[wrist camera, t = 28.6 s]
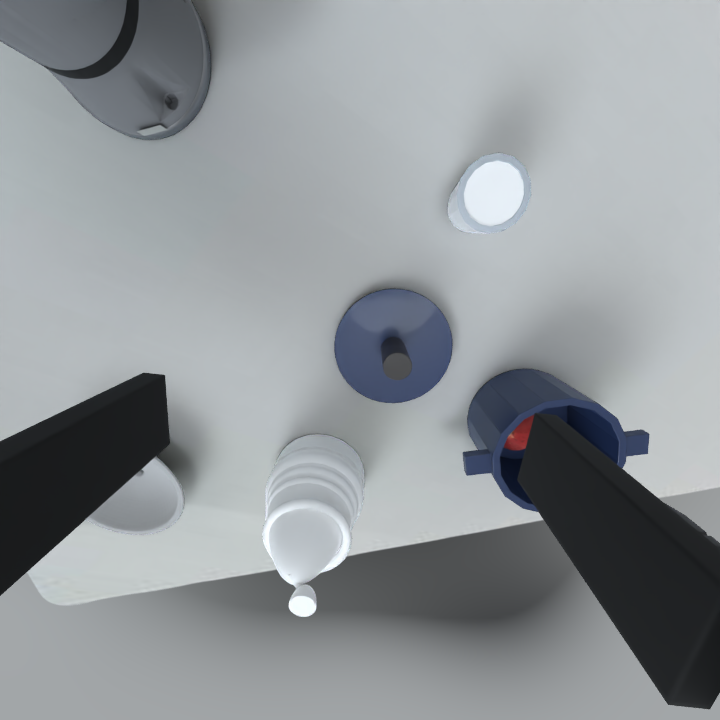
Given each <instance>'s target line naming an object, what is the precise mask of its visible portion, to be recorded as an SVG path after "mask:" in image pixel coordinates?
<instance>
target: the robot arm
mask: <svg viewBox="0 0 720 720" xmlns="http://www.w3.org/2000/svg"><path fill="white" fill-rule="evenodd" d="M0 41H1V42H3V43H4V44H6V45H8V46H10V47H11V48H13V49H15V50H16V51H18V52H20V53H22V54H23V55H25V56H27V57H28V58H30V59H32V60H34V61H36V62H37V63H39V64H41V65H42V66H44V67H45V68H47V69H48V70H49V71H50V72H51V73H52V74H53V75H54V76H55V77H56V78H57V79H58V80H59V81H60V82H61V83H62V84H63V85H64V87H65V88H66V89H67V90H68V91H69V92H70V93H71V94H72V95H73V97H74V98H75V99H76V100H77V101H78V102H79V103H80V104H81V105H82V106H83V107H84V108H85V109H86V110H87V111H88V112H89V113H91V114H92V115H93V116H94V117H95V118H97V119H98V120H99V121H101V122H102V123H104V124H106V125H107V126H109V127H111V128H113V129H115V130H117V131H119V132H121V133H123V134H125V135H128V136H130V137H134V138H138V139H145V140H154V139H161V138H165V137H169V136H171V135H173V134H176V133H177V132H179V131H181V130H182V129H183V128H185V127H186V126H187V125H188V124H189V123H190V122H191V121H192V120H193V119H194V117H195V116H196V115H197V113H198V112H199V110H200V108H201V106H202V104H203V102H204V100H205V97H206V94H207V91H208V87H209V81H210V73H211V58H210V49H209V43H208V39H207V35H206V32H205V28H204V26H203V23H202V21H201V18H200V16H199V14H198V12H197V10H196V8H195V7H194V5H193V3H192V2H191V0H0ZM169 444H170V439H169V426H168V412H167V398H166V384H165V375H160V374H150V373H142V374H140V375H138V376H136V377H134V378H132V379H129V380H127V381H125V382H123V383H121V384H119V385H117V386H115V387H113V388H111V389H109V390H107V391H104V392H102V393H100V394H98V395H96V396H94V397H92V398H90V399H88V400H86V401H84V402H81V403H79V404H77V405H75V406H73V407H71V408H69V409H67V410H65V411H63V412H61V413H59V414H56V415H54V416H52V417H50V418H48V419H46V420H44V421H42V422H40V423H38V424H36V425H34V426H31V427H29V428H27V429H25V430H23V431H21V432H19V433H17V434H15V435H13V436H11V437H8V438H6V439H4V440H2V441H0V595H1V594H3V593H4V592H5V591H6V590H7V589H8V588H9V587H11V586H12V585H13V584H14V583H15V582H16V581H17V580H18V579H19V578H21V577H22V576H23V575H24V574H25V573H26V572H27V571H28V570H30V569H31V568H32V567H33V566H34V565H35V564H36V563H37V562H38V561H40V560H41V559H42V558H43V557H44V556H45V555H46V554H47V553H49V552H50V551H51V550H52V549H53V548H54V547H55V546H56V545H57V544H59V543H60V542H61V541H62V540H63V539H64V538H65V537H66V536H68V535H69V534H70V533H71V532H72V531H73V530H74V529H75V528H76V527H78V526H79V525H80V524H81V523H82V522H83V521H84V520H85V519H87V518H88V517H89V516H90V515H91V514H92V513H93V512H94V511H95V510H97V509H98V508H99V507H100V506H101V505H102V504H103V503H104V502H106V501H107V500H108V499H109V498H110V497H111V496H112V495H113V494H114V493H116V492H117V491H118V490H119V489H120V488H121V487H122V486H123V485H125V484H126V483H127V482H128V481H129V480H130V479H131V478H132V477H133V476H135V475H136V474H137V473H138V472H139V471H140V470H141V469H142V468H144V467H145V466H146V465H147V464H148V463H149V462H150V461H151V460H152V459H154V458H155V457H156V456H157V455H158V454H159V453H160V452H161V451H163V450H164V449H165V448H166V447H167V446H168V445H169ZM517 480H518V482H519V483H520V485H521V486H522V488H523V489H524V491H525V492H526V494H527V495H528V497H529V498H530V500H531V501H532V503H533V504H534V506H535V507H536V509H537V510H538V512H539V513H540V515H541V516H542V518H543V519H544V521H545V522H546V524H547V525H548V526H549V528H550V529H551V531H552V533H553V534H554V536H555V537H556V538H557V540H558V541H559V543H560V544H561V546H562V547H563V549H564V550H565V552H566V553H567V555H568V556H569V558H570V559H571V561H572V562H573V564H574V565H575V567H576V568H577V570H578V571H579V573H580V574H581V576H582V577H583V579H584V580H585V582H586V583H587V585H588V586H589V587H590V589H591V590H592V592H593V594H594V595H595V597H596V598H597V600H598V601H599V603H600V604H601V605H602V607H603V608H604V610H605V611H606V613H607V614H608V616H609V617H610V619H611V620H612V622H613V623H614V625H615V626H616V628H617V629H618V631H619V632H620V634H621V635H622V637H623V638H624V640H625V641H626V643H627V644H628V645H629V647H630V649H631V650H632V651H633V653H634V655H635V656H636V657H637V659H638V660H639V662H640V663H641V665H642V667H643V668H644V669H645V671H646V672H647V674H648V675H649V677H650V678H651V680H652V681H653V683H654V684H655V686H656V687H657V689H658V690H659V692H660V693H661V695H662V696H663V698H664V699H665V701H666V702H667V704H668V705H675V706H685V707H694V708H703V709H710V708H711V706H712V705H713V703H714V701H715V700H716V698H717V696H718V695H719V693H720V543H719V542H718V541H716V540H715V539H714V538H713V537H711V536H707V534H706V532H705V531H704V530H703V529H701V528H700V527H699V526H697V524H695V523H694V522H693V521H692V520H690V519H689V518H688V517H687V516H685V515H684V514H682V513H680V512H679V511H677V510H675V509H674V508H672V507H670V506H668V505H667V504H665V503H663V502H662V501H661V500H660V499H658V498H657V497H656V496H655V495H653V494H652V493H651V492H650V491H649V490H647V489H646V488H645V487H644V486H643V485H641V484H640V483H639V482H638V481H636V480H635V479H634V478H633V477H632V476H630V475H629V474H628V473H627V472H625V471H624V470H623V469H622V468H621V467H619V466H618V465H617V464H616V463H614V462H613V461H612V460H611V459H610V458H608V457H607V456H606V455H605V454H603V453H602V452H601V451H600V450H599V449H597V448H596V447H595V446H594V445H593V444H591V443H590V442H589V441H588V440H586V439H585V438H584V437H583V436H582V435H580V434H579V433H578V432H577V431H575V430H574V429H573V428H572V427H571V426H569V425H568V424H567V423H566V422H564V421H563V420H562V419H561V418H560V417H558V416H557V415H551V414H541V413H535V414H534V418H533V422H532V426H531V429H530V433H529V437H528V441H527V445H526V448H525V452H524V456H523V460H522V463H521V467H520V471H519V475H518V478H517Z"/></svg>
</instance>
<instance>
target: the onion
mask: <svg viewBox="0 0 720 720" xmlns="http://www.w3.org/2000/svg"><path fill="white" fill-rule="evenodd" d="M533 418H534V415H532V416H530V417H528V418H526V419H524V420H523V421H522V422H521V423H520V424H519V425H518V426H517V427H516V429H515V430H514V431H513V432H512V433H511V434H510V435H509V436H508V438H507V440H506V443H505V445H504V448H506V449H508V450H523V449H525V448H526V445H527V441H528V437H529V433H530V429H531V426H532V422H533Z"/></svg>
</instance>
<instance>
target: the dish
mask: <svg viewBox="0 0 720 720" xmlns="http://www.w3.org/2000/svg"><path fill="white" fill-rule="evenodd" d="M142 469H143V471H141V470H140V471H139V472H138V473H137V474H136V475H135V476H133V477H132V478H131V479H130V480H129V481H128V482H127V483H126V484H125V485H123V486H122V487H121V488H120V489H119V490H118V491H117V492H116V493H114V494H113V495H112V496H111V497H110V498H109V499H108V500H107V501H106V502H104V503H103V504H102V505H101V506H100V507H99V508H98V509H97V510H95V511H94V512H93V513H92V514H91V515H90V516H89V517H88V518H87V519H85V520H87V521H89V522H91V523H93V524H95V525H97V526H99V527H102V528H104V529H107V530H110V531H114V532H117V533H123V534H130V535H146V534H153V533H157V532H160V531H163V530H165V529H167V528H169V527H170V526H172V525H173V524H174V523H175V522H176V521H177V520H178V519H179V517H180V516H181V514H182V512H183V509H184V493H183V489H182V487H181V485H180V483H179V481H178V479H177V478H176V476H175V475H174V474H173V472H172V471H171V470H170V469H169V468H168V467H167V466H166V465H165V464H164V463H163V462H162V461H161V460H160V459H159V458H157V457H155V458H154V459H152V460H151V461H150V462H149V463H148V464H147V465H146V466H145V467H144V468H142Z"/></svg>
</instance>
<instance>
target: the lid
mask: <svg viewBox="0 0 720 720" xmlns="http://www.w3.org/2000/svg"><path fill="white" fill-rule="evenodd" d="M451 355H452V335H451V331H450V327H449V324H448V322H447V320H446V318H445V317H444V315H443V313H442V312H441V311H440V310H439V308H438V307H437V306H436V305H435V304H434V303H432V302H431V301H430V300H429V299H427V298H426V297H424V296H422V295H420V294H418V293H416V292H413V291H409V290H404V289H384V290H379V291H376V292H373V293H370V294H368V295H366V296H364V297H363V298H361V299H360V300H358V301H357V302H356V303H355V304H354V305H352V306H351V307H350V308H349V310H348V311H347V312H346V313H345V315H344V317H343V318H342V320H341V322H340V324H339V326H338V329H337V333H336V337H335V358H336V361H337V365H338V367H339V370H340V372H341V374H342V375H343V377H344V379H345V380H346V381H347V382H348V384H349V385H350V386H351V387H352V388H353V389H355V390H356V391H357V392H359V393H360V394H362V395H363V396H365V397H367V398H370V399H372V400H376V401H379V402H385V403H400V402H405V401H409V400H412V399H415V398H417V397H420V396H422V395H423V394H425V393H426V392H428V391H429V390H430V389H432V388H433V387H434V386H435V385H436V384H437V383H438V382H439V381H440V379H441V378H442V377H443V375H444V373H445V372H446V370H447V368H448V365H449V362H450V359H451Z"/></svg>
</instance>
